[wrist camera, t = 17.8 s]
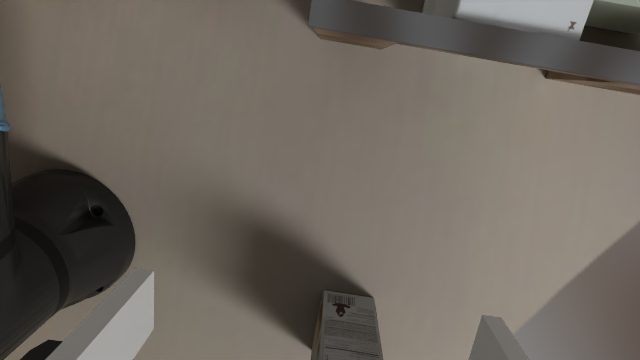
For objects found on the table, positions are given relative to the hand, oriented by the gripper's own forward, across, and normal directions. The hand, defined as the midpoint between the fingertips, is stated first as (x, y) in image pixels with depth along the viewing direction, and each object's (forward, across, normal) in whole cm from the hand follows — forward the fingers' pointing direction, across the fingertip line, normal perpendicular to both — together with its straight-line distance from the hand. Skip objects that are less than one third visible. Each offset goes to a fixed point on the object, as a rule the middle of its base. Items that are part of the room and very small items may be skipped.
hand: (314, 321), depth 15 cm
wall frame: (+26, +15, +12) cm, 32 cm away
